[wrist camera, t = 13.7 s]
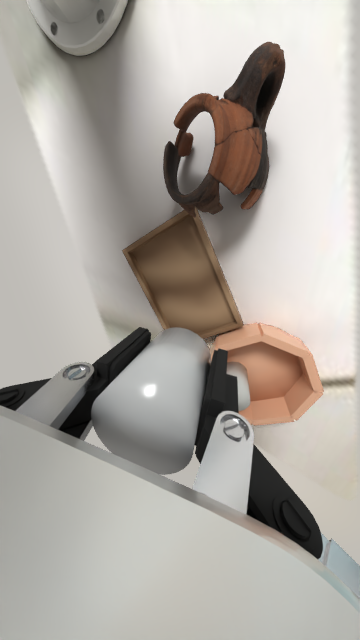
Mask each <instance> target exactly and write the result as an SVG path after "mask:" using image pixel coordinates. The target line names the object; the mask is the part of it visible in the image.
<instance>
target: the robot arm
mask: <svg viewBox="0 0 360 640" xmlns="http://www.w3.org/2000/svg"><path fill="white" fill-rule="evenodd" d="M26 2H27V4H28V7H29V9H30V11H31V13H32V15H33V17H34V18H35V20H36V22H37V24H38V25H39V26H40V27H41V29H42V30H43V31H44V32H45V34H46V35H47V36H48V37H49V39H50V40H51V41H52V42H53V43H54V44H55V45H56V46H57V47H58V48H60V49H62V50H63V51H65V52H66V53H69V54H72V55H76V56H79V55H87V54H90V53H93V52H95V51H96V50H98V49H99V48H100V47H102V46H103V45H104V44H105V43H106V42H107V40H108V39H109V38H110V37H111V36H112V34H113V33H114V31H115V29H116V27H117V26H118V24H119V22H120V20H121V18H122V15H123V13H124V10H125V8H126V5H127V2H128V0H26ZM150 340H151V332H149V330H148V329H145V328H141V327H139V328H138V329H136V330H135V331H134V332H133V333H131V334H130V335H129V336H128V337H126V338H125V339H124V340H122V341H121V342H120V343H119V344H117V345H116V346H115V347H113V348H112V349H111V350H110V351H108V352H107V353H106V354H105V355H103V356H102V357H101V358H99V359H98V360H97V361H96V362H95V363H94V364H92V365H91V364H89V363H85V362H79V363H73V364H70V365H68V366H66V367H64V368H63V369H62V370H60V372H58V373H57V374H56V375H55V376H54V377H53V378H50V379H45V380H40V381H34V382H29V383H24V384H19V385H14V386H9V387H5V388H2V389H0V640H360V566H359V565H358V564H357V563H356V562H355V561H354V560H353V559H352V558H351V557H350V556H349V555H348V554H347V553H346V552H345V551H344V550H343V549H342V548H341V547H340V546H339V545H338V544H337V543H336V542H335V541H334V540H333V539H331V540H327V538H326V537H325V536H324V535H323V534H322V533H321V532H320V529H319V526H318V524H317V523H316V521H315V519H314V517H313V515H312V514H311V512H310V511H309V510H308V508H307V507H306V505H305V504H304V503H303V502H302V501H301V500H300V498H299V497H298V496H297V495H296V494H295V492H294V491H293V490H292V489H291V488H290V487H289V486H288V484H287V483H286V482H285V481H284V480H283V478H282V477H281V476H280V475H279V473H278V472H277V471H276V470H275V469H274V468H273V466H272V465H271V464H270V463H269V462H268V461H267V459H266V458H265V457H264V456H263V455H262V453H261V452H260V451H259V450H258V449H257V447H256V446H255V445H254V431H253V429H252V426H251V425H250V423H249V422H248V421H247V420H246V419H245V418H244V417H243V416H241V415H240V414H239V409H238V381H237V377H236V376H233V375H229V374H227V357H228V351H227V350H223V349H219V348H218V351H217V350H214V353H213V356H212V360H211V364H210V369H209V374H208V378H207V383H206V388H205V393H204V398H203V403H202V408H201V413H200V418H199V425H198V430H197V435H196V440H195V445H196V451H195V454H196V457H197V459H198V460H199V462H200V464H201V465H200V467H199V470H198V473H197V476H196V479H195V482H194V485H193V488H192V489H190V488H188V487H186V486H184V485H182V484H179V483H177V482H175V481H172V480H170V479H168V478H166V477H164V476H161V475H159V474H157V473H155V472H152V471H150V470H148V469H146V468H144V467H141V466H139V465H137V464H135V463H132V462H130V461H128V460H126V459H123V458H121V457H119V456H117V455H114V454H112V453H110V452H107V451H105V450H103V449H101V448H98V447H96V446H94V445H91V444H89V443H87V442H85V441H84V440H85V438H86V436H87V435H88V433H89V431H90V430H91V428H92V426H93V423H92V418H91V409H92V405H93V403H94V401H95V399H96V398H97V397H98V396H99V395H100V394H101V393H102V392H103V391H104V390H105V389H106V388H107V387H108V386H109V385H110V384H111V382H112V381H113V380H114V379H115V378H116V377H117V376H118V375H119V374H120V373H121V372H122V371H123V370H124V369H125V368H126V367H127V366H128V365H129V364H130V363H131V362H132V361H133V360H134V359H135V358H136V357H137V356H138V354H139V353H140V352H141V351H142V350H143V349H144V348H145V347H146V346H147V345H148V344H149V343H150Z"/></svg>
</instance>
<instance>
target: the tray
mask: <svg viewBox="0 0 360 640" xmlns="http://www.w3.org/2000/svg"><path fill="white" fill-rule="evenodd" d="M195 213H196V217H195V218H194V217H192V216H191V215H190V214H189V213H188V212H186V211H185V210H183V211H182V212H180V213H179V214H177V215H176V216H174V217H173V218H171V219H169V220H168V221H166V222H165V223H163V224H162V225H160V226H159V227H157V228H156V229H154V230H153V231H151V232H150V233H148V234H146V235H145V236H143V237H142V238H140V239H139V240H137V241H136V242H134V243H133V244H131V245H130V246H128V247H127V248H125V249H124V250H122V251H123V253H124V255H125V257H126V259H127V261H128V263H129V265H130V267H131V268H132V270H133V272H134V274H135V276H136V278H137V280H138V282H139V284H140V286H141V287H142V289H143V291H144V293H145V295H146V297H147V299H148V301H149V303H150V304H151V306H152V308H153V310H154V312H155V314H156V316H157V318H158V320H159V322H160V323H161V325H162V327H163V329H164V330H165V329H168V328H175V327H178V328H185V329H188V330H190V331H193V332H194V333H196V334H197V335H199V336H200V337H201V338H202V339H204V338H207V337H210V336H213V335H217V334H220V333H223V332H226V331H229V330H233V329H236V328H239V327H242V326H243V321H242V319H241V316H240V314H239V311H238V309H237V306H236V304H235V301H234V299H233V296H232V294H231V291H230V289H229V286H228V284H227V281H226V279H225V277H224V274H223V272H222V269H221V267H220V264H219V262H218V259H217V257H216V254H215V252H214V249H213V247H212V244H211V242H210V239H209V237H208V235H207V232H206V230H205V227H204V225H203V222H202V220H201V217H200V215H199V212H198V210H197V208H196V207H195Z"/></svg>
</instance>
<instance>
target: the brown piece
mask: <svg viewBox="0 0 360 640" xmlns="http://www.w3.org/2000/svg"><path fill="white" fill-rule="evenodd" d="M284 73H285V59H284V51H283V50H282V49H280V46H279V45H278V44H275V43H274V44H273V43H272V42H266V43H264V44H262V45H261V46H259V47H258V48H257V49H256V50H254V52H253V53H252V54H251V55H250V57H249V58H248V60H247V61H246V63H245V65H244V67H243V69H242V71H241V73H240V74H239V76H238V78H237V80H236V81H235V83H234V84H233V85H232V86H231V87H230V88H229V89H228V90H226V91H225V93H224V99H223V98H222V99H220V100H219V96H212V95H211V94H207V93H201V94H198V95H195V96H193V97H192V98H190V99H189V100H188V101H187V102H186V103H185V104H184V106H183V107H182V108H181V109H180V111H179V112H178V114H177V116H176V118H175V120H174V125H175V126H176V127H177V128H179V129H180V130H179V133H178V135H177V138H176V142H175V146H174V144H173V143H172V142H170V141H169V142H168V143H167V145H166V146H165V151H164V164H163V170H164V179H165V183H166V187H167V190H168V193H169V194H170V196H171V197H172V199H173V200H174V201H176V202H177V203H179V204H180V205H181V207H183V209H184V210H185V211H186V212H188V213H189V214H190V215H191V216H192V217H194V218H195V217H196V213H195V207H196V208H197V209H198V210H200V211H202V212H209V213H211V214H216V213H218V212H220V211H222V209H223V206H222V205H221V203H219V183H220V182H221V183H222V184H223V185H224V186H225V187H227V188H228V189H229V190H230V191H231V192H232V193H233V194H234V195H236V194H240V193H242V192H243V191H244V190H245V188H246V187H248V188H253V189H252V191H251V192H250V194H249V195H248V197H247V198H246V199H245V200H244V202H243V203H242V204H241V208H242V209H250V208H251V207H252V206H253V205H254V204H255V202H256V201H257V199H258V198H259V196H260V195H261V193H262V191H263V189H264V187H265V184H266V181H267V178H268V172H269V158H268V154H267V140H266V132H265V127H266V122H267V119H268V116H269V114H270V111H271V109H272V107H273V105H274V103H275V100H276V98H277V96H278V93H279V91H280V88H281V85H282V81H283V78H284ZM203 111H206V112H209V113H210V115H211V117H212V119H213V122H214V128H215V148H214V153H213V157H212V161H211V164H210V167H209V170H208V174H207V175H206V177H205V178H204V180H203V181H202V183H201V184H200V186H199V187H198V188H197V189H196V190H194V191H193V192H192V193H190V194H188V195H183V194H181V193H180V192H179V189H178V184H177V171H178V167H179V162H180V159H181V157H184V156H188V155H189V154H190V152H191V148H192V143H193V135H192V134H191V133H186V131H187V128H188V127H189V125H190V123H191V122H192V121H193V119H194V118H195V117H196V116H197V115H198V114H199V113H200V112H203Z"/></svg>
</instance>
